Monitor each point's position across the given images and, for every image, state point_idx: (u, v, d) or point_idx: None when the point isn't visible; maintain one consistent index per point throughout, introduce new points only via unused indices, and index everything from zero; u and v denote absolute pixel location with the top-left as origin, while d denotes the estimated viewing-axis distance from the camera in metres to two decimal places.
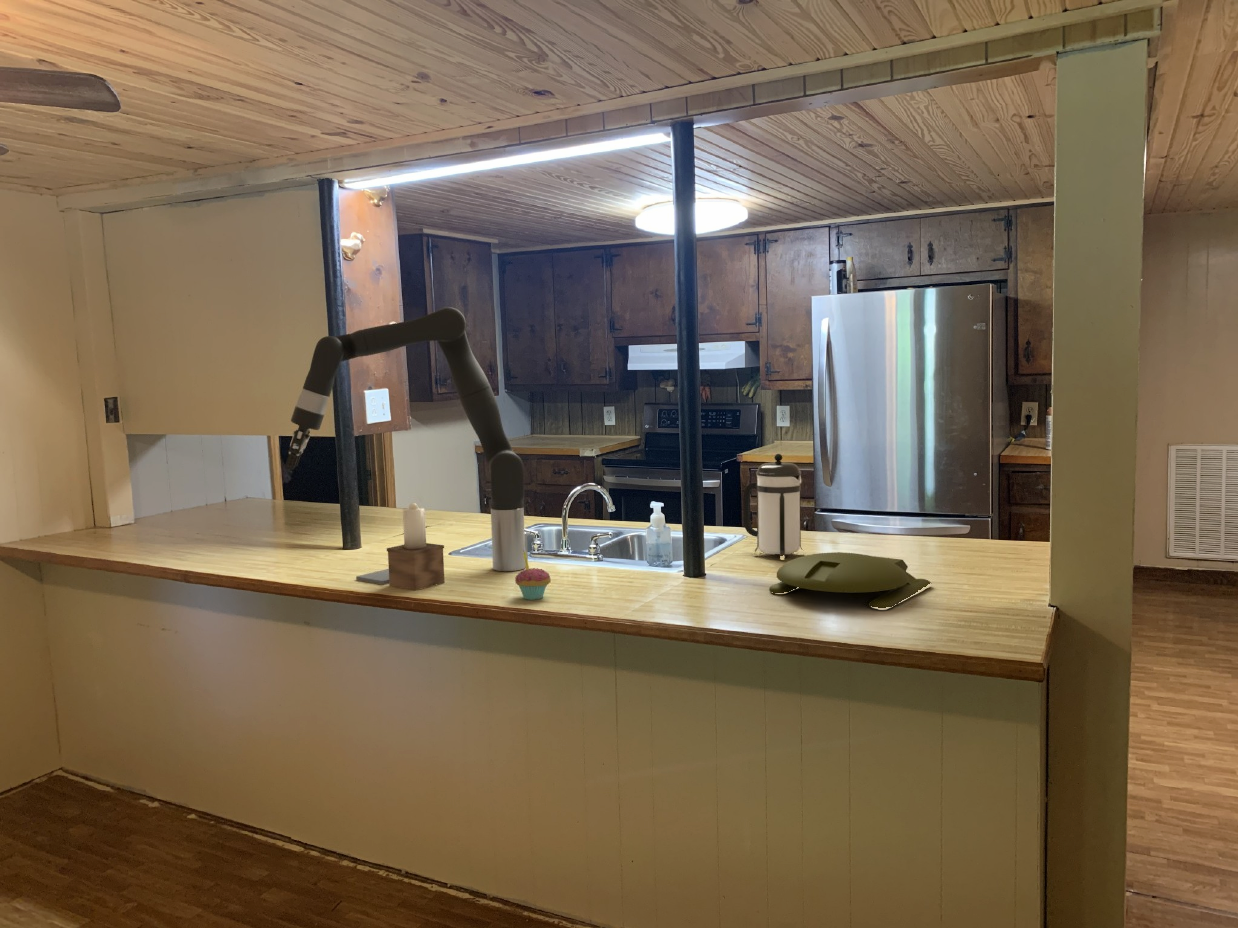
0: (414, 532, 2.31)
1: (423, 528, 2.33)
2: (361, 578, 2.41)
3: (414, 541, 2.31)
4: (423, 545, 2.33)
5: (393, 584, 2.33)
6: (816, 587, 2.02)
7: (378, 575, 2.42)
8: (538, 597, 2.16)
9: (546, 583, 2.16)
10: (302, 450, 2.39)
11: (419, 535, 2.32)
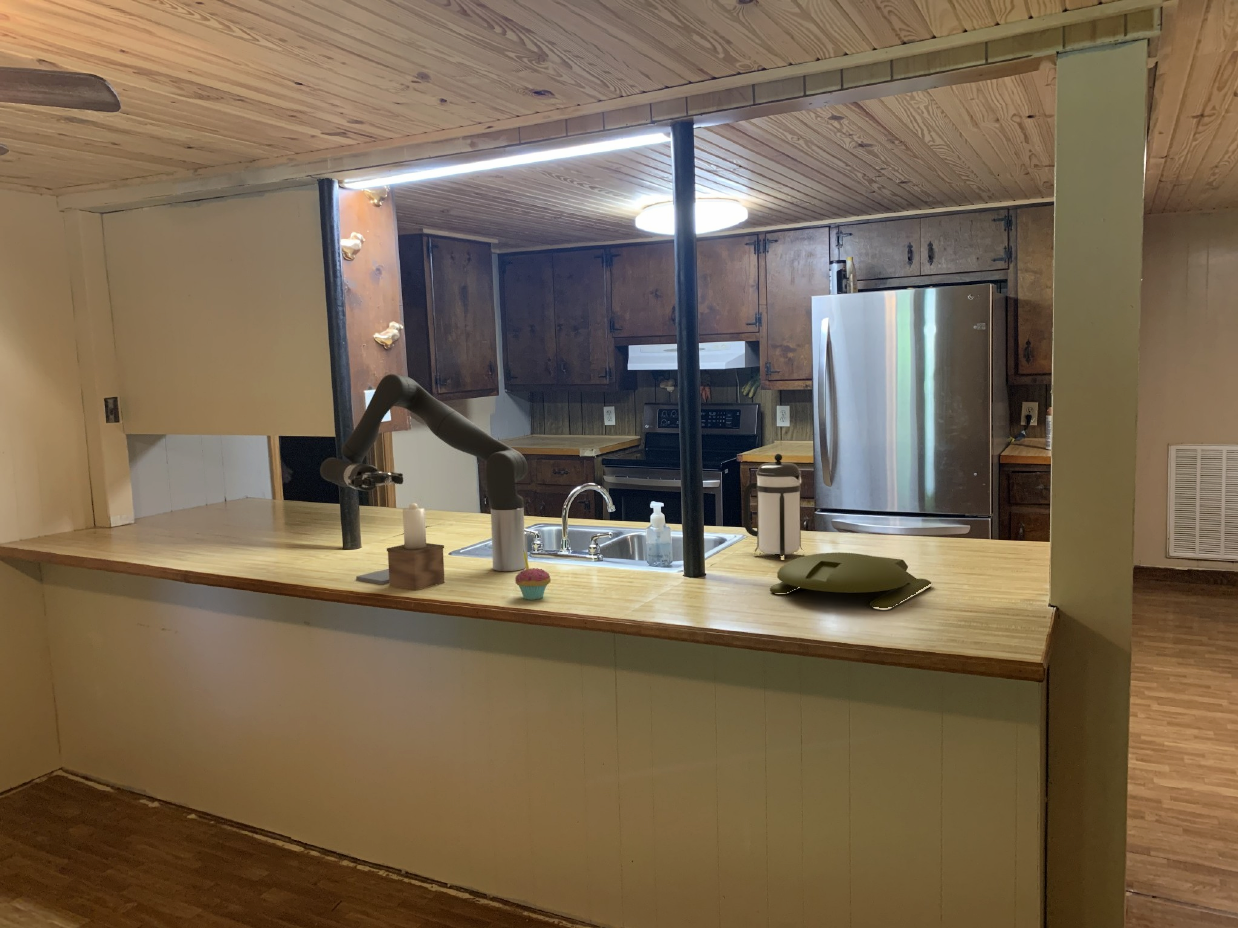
0: (414, 532, 2.31)
1: (423, 528, 2.33)
2: (361, 578, 2.41)
3: (414, 541, 2.31)
4: (423, 545, 2.33)
5: (393, 584, 2.33)
6: (817, 587, 2.01)
7: (378, 575, 2.42)
8: (538, 597, 2.16)
9: (546, 583, 2.16)
10: (391, 474, 2.49)
11: (419, 535, 2.32)
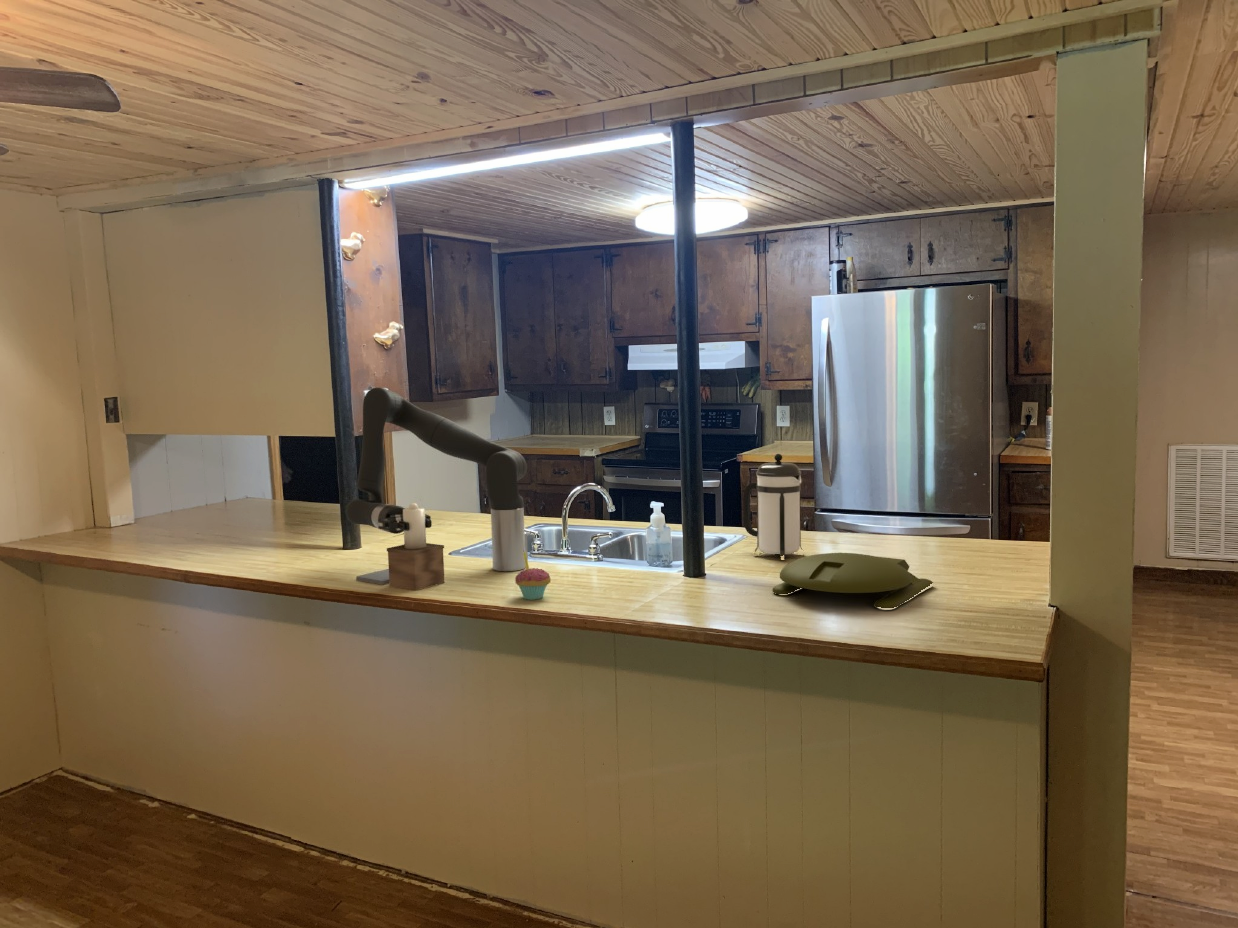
0: (414, 532, 2.31)
1: (423, 528, 2.33)
2: (361, 578, 2.41)
3: (414, 541, 2.31)
4: (423, 545, 2.33)
5: (393, 584, 2.33)
6: (821, 588, 2.01)
7: (378, 575, 2.42)
8: (538, 597, 2.16)
9: (546, 583, 2.16)
10: None
11: (419, 535, 2.32)
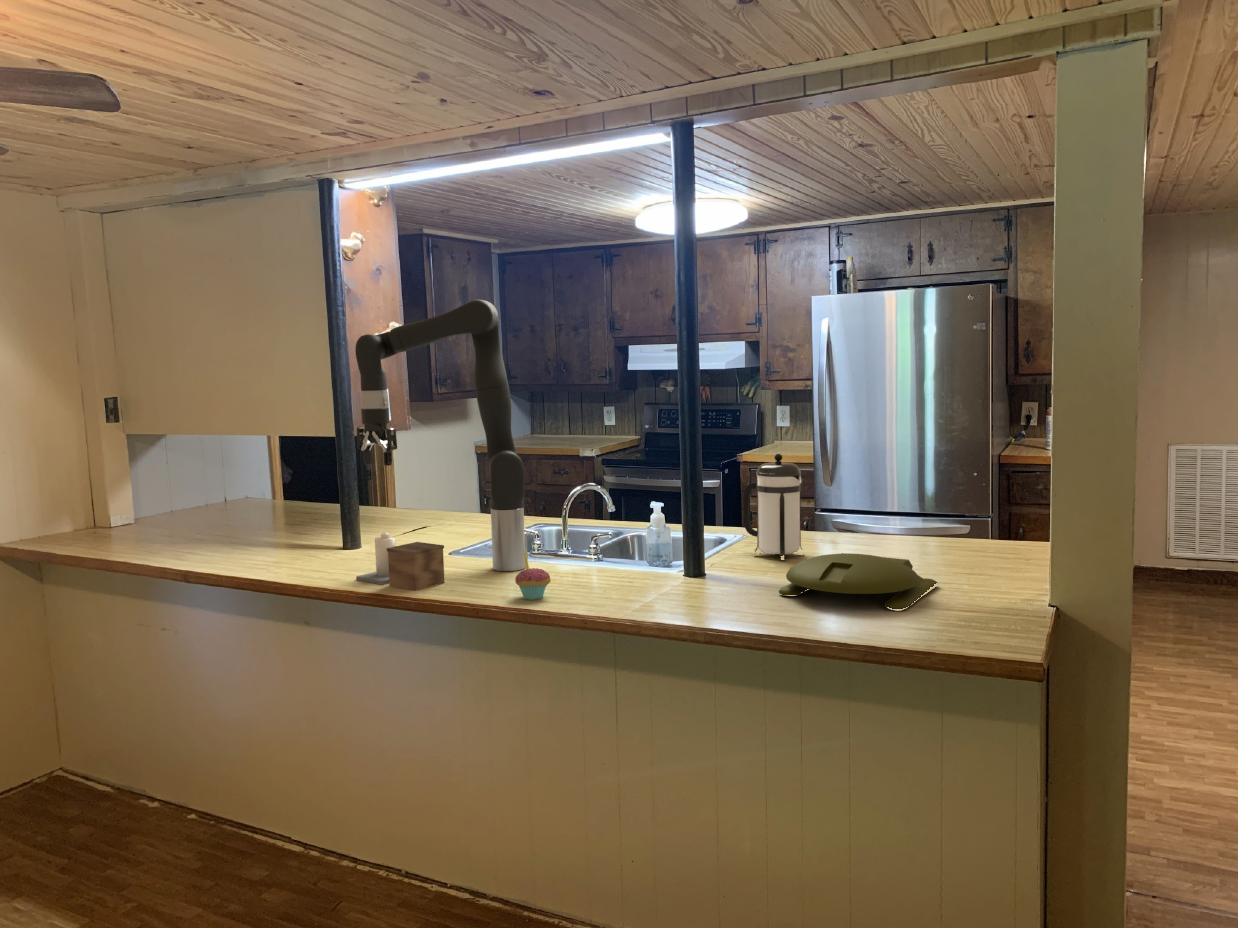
0: (385, 560, 2.40)
1: None
2: (361, 578, 2.41)
3: (385, 569, 2.41)
4: None
5: (393, 584, 2.33)
6: (832, 589, 1.99)
7: None
8: (538, 597, 2.16)
9: (546, 583, 2.16)
10: (382, 448, 2.47)
11: None
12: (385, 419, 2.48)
